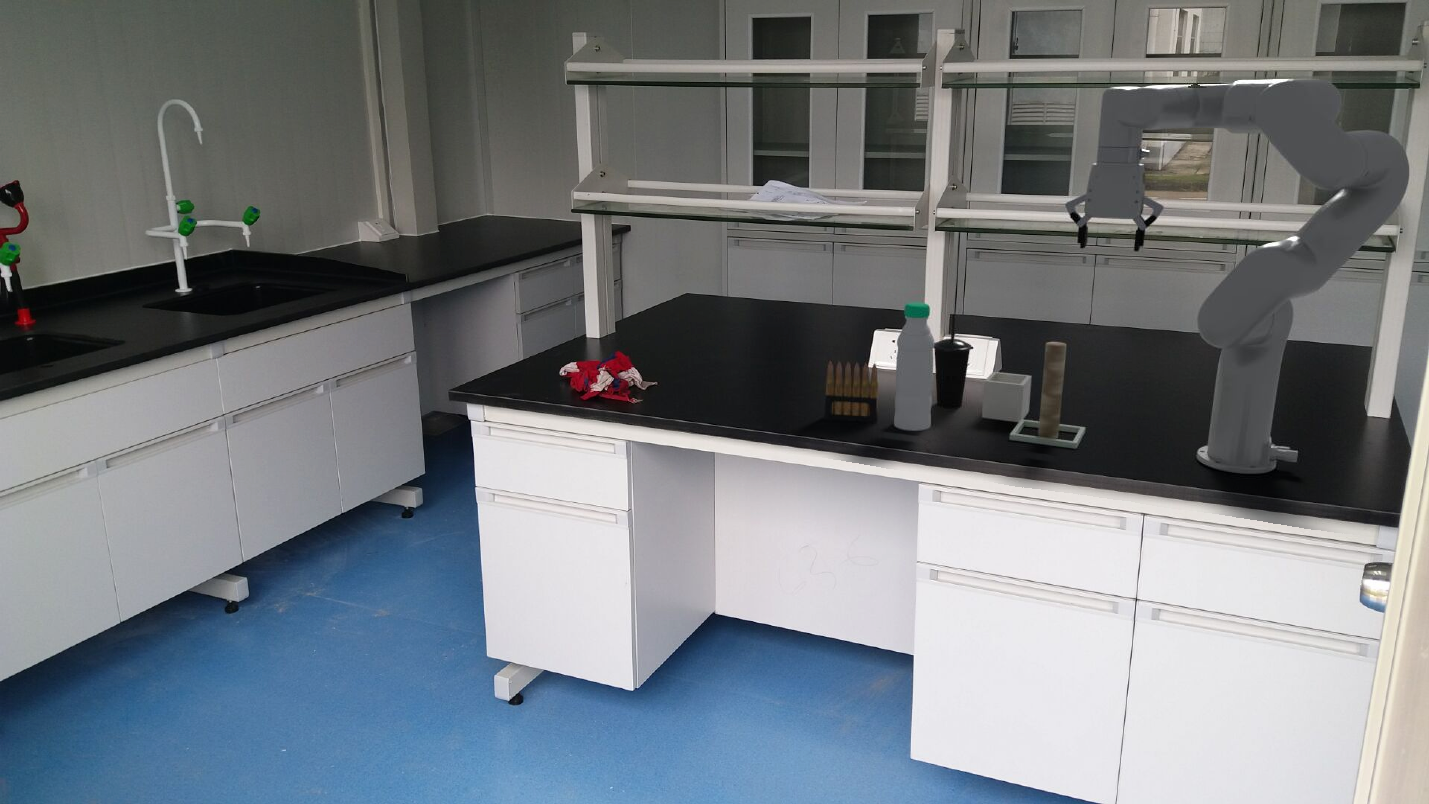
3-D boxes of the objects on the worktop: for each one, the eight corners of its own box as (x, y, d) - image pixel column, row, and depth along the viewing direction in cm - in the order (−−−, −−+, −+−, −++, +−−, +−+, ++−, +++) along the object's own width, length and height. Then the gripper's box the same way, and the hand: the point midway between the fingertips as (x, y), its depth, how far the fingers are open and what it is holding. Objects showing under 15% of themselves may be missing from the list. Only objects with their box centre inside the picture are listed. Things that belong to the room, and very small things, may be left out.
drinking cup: (926, 404, 221) (930, 311, 216) (961, 402, 222) (966, 310, 216) (935, 415, 214) (940, 319, 208) (972, 413, 215) (978, 318, 209)
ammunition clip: (878, 420, 212) (879, 362, 208) (877, 422, 210) (878, 364, 207) (825, 416, 215) (826, 359, 211) (824, 419, 213) (824, 362, 209)
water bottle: (897, 422, 210) (902, 299, 203) (933, 425, 208) (939, 301, 200) (890, 433, 204) (894, 306, 197) (926, 436, 201) (932, 308, 194)
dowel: (1059, 435, 199) (1067, 343, 193) (1056, 441, 196) (1064, 347, 190) (1040, 432, 200) (1047, 341, 195) (1036, 438, 197) (1044, 345, 192)
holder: (1028, 416, 213) (1031, 375, 210) (1020, 427, 206) (1023, 385, 204) (990, 411, 216) (993, 371, 213) (981, 422, 209) (984, 381, 207)
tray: (1084, 437, 200) (1085, 427, 199) (1075, 453, 191) (1076, 443, 191) (1020, 428, 205) (1021, 419, 204) (1009, 444, 197) (1009, 434, 196)
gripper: (1170, 155, 193) (1160, 248, 198) (1073, 154, 201) (1065, 243, 206) (1167, 158, 187) (1156, 254, 192) (1066, 157, 195) (1058, 249, 200)
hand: (1109, 248), depth 199 cm, fingers open, 9 cm apart
